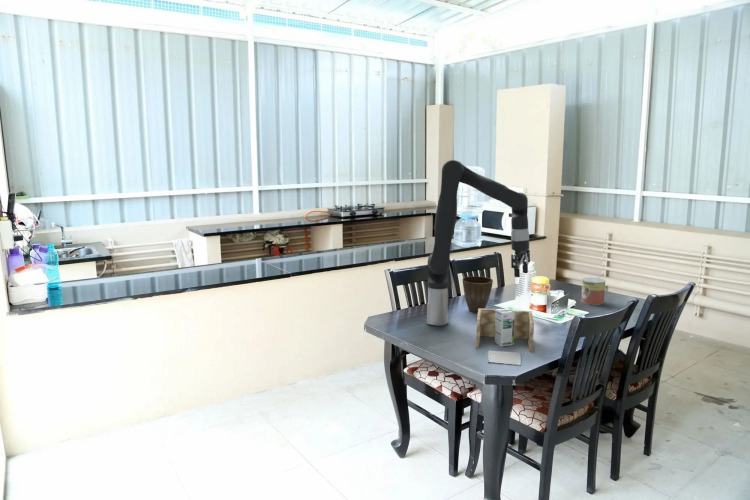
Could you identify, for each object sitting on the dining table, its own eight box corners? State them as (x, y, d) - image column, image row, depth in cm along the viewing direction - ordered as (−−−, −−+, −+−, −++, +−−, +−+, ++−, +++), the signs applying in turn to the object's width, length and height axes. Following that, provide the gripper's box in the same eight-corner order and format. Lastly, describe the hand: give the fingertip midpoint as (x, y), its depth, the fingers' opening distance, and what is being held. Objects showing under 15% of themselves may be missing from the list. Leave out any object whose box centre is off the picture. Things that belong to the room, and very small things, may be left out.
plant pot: (492, 307, 269) (493, 277, 266) (491, 315, 254) (492, 283, 252) (463, 305, 272) (463, 275, 269) (460, 313, 258) (461, 282, 255)
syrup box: (501, 347, 213) (502, 312, 210) (494, 342, 218) (495, 308, 216) (513, 345, 214) (515, 311, 212) (506, 340, 220) (507, 307, 217)
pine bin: (476, 347, 212) (476, 319, 210) (477, 334, 227) (478, 308, 225) (532, 352, 207) (534, 323, 205) (530, 338, 222) (531, 311, 220)
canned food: (576, 300, 280) (577, 278, 278) (593, 298, 284) (595, 277, 282) (590, 306, 270) (592, 283, 268) (608, 304, 273) (610, 281, 271)
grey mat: (487, 362, 197) (487, 361, 197) (488, 351, 208) (488, 350, 208) (520, 365, 194) (521, 364, 194) (519, 353, 205) (519, 352, 205)
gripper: (519, 236, 236) (520, 271, 239) (504, 241, 225) (506, 277, 228) (535, 236, 231) (536, 272, 234) (521, 241, 220) (522, 279, 223)
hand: (521, 275), depth 231 cm, fingers open, 8 cm apart
